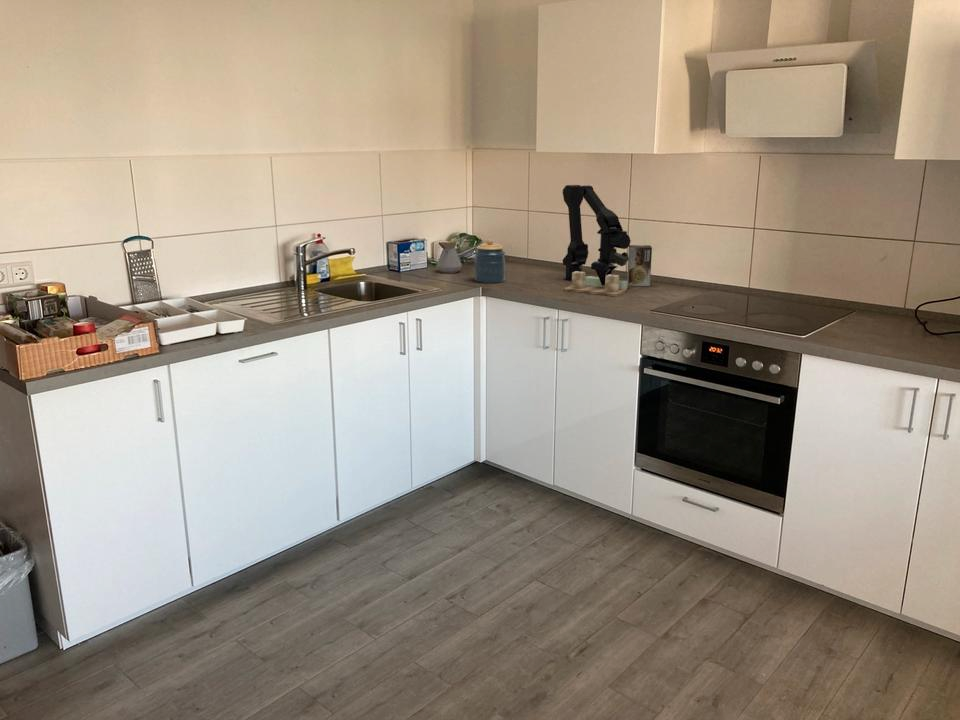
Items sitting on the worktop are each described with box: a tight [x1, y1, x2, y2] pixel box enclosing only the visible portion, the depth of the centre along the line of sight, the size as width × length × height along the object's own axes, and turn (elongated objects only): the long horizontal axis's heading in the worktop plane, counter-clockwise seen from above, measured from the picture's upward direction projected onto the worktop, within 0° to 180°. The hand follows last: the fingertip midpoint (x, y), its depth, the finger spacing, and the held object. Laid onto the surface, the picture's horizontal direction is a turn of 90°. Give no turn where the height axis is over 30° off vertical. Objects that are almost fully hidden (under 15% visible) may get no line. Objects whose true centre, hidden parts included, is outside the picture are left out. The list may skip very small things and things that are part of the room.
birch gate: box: [563, 271, 627, 297], centre depth 302 cm, size 22×11×7 cm, turn 60°
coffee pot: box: [436, 242, 463, 274], centre depth 339 cm, size 21×12×15 cm, turn 166°
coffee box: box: [626, 244, 653, 287], centre depth 315 cm, size 9×6×16 cm
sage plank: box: [585, 275, 628, 290], centre depth 312 cm, size 18×4×4 cm, turn 51°
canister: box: [474, 238, 506, 284], centre depth 322 cm, size 13×13×18 cm
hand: (605, 284), depth 312 cm, fingers closed on sage plank, 4 cm apart
